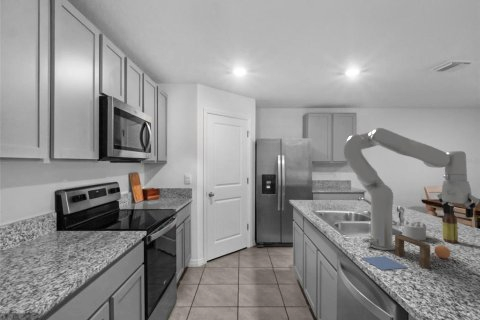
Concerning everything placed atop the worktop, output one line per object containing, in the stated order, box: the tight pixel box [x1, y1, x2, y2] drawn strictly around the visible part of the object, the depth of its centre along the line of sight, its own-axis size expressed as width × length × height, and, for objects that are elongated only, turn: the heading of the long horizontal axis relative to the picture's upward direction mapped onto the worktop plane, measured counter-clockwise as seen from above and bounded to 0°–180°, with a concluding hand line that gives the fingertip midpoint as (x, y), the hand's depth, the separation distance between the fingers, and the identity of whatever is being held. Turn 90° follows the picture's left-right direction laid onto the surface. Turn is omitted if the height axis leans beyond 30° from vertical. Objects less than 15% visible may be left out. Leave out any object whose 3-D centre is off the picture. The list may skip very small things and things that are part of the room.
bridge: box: [394, 234, 431, 269], centre depth 105 cm, size 3×14×9 cm, turn 10°
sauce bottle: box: [441, 203, 459, 244], centre depth 130 cm, size 7×6×20 cm
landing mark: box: [361, 255, 408, 271], centre depth 103 cm, size 12×12×1 cm
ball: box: [434, 245, 451, 259], centre depth 108 cm, size 6×6×6 cm
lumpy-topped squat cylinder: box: [403, 220, 427, 241], centre depth 138 cm, size 10×13×9 cm
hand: (457, 215), depth 111 cm, fingers open, 9 cm apart
